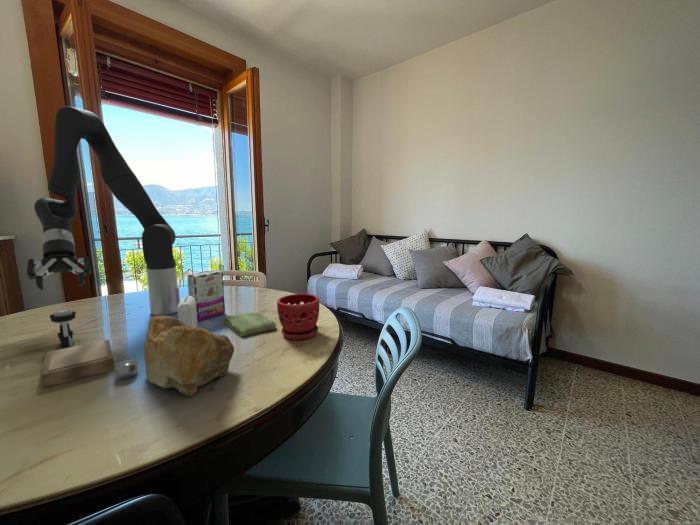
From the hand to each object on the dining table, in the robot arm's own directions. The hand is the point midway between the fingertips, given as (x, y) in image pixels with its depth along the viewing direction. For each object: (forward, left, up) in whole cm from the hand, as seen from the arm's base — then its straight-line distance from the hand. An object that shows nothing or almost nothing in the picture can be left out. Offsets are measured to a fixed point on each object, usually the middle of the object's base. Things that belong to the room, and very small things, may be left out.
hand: (61, 286), depth 91 cm
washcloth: (-46, +30, -15) cm, 57 cm away
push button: (0, +11, -15) cm, 19 cm away
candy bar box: (-38, +11, -15) cm, 42 cm away
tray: (-3, +30, -15) cm, 34 cm away
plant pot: (-55, +46, -15) cm, 74 cm away
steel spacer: (-11, +42, -15) cm, 46 cm away
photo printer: (-28, +26, -15) cm, 41 cm away
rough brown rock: (-23, +53, -15) cm, 60 cm away
